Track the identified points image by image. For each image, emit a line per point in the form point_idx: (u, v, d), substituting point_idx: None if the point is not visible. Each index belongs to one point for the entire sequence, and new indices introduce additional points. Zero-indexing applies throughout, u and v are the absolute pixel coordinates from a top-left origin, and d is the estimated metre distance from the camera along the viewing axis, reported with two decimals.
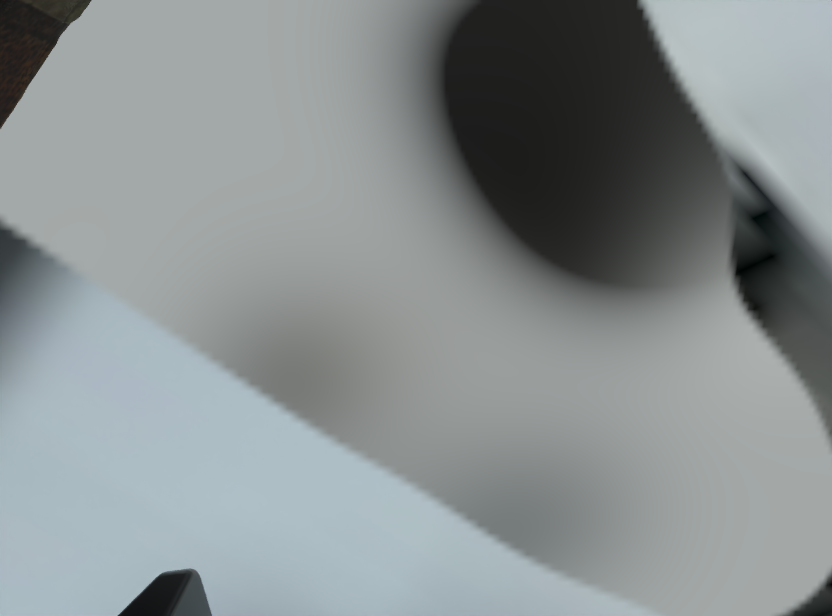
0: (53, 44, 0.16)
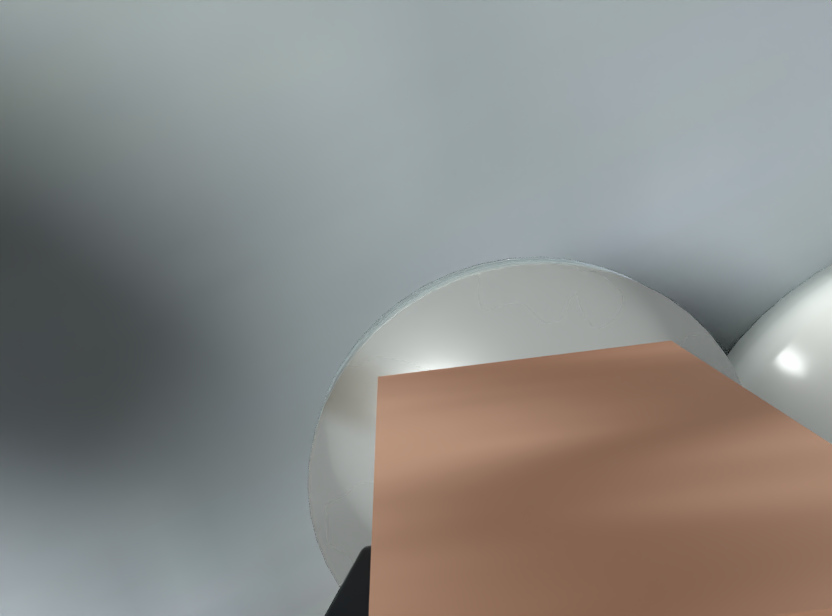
0: None
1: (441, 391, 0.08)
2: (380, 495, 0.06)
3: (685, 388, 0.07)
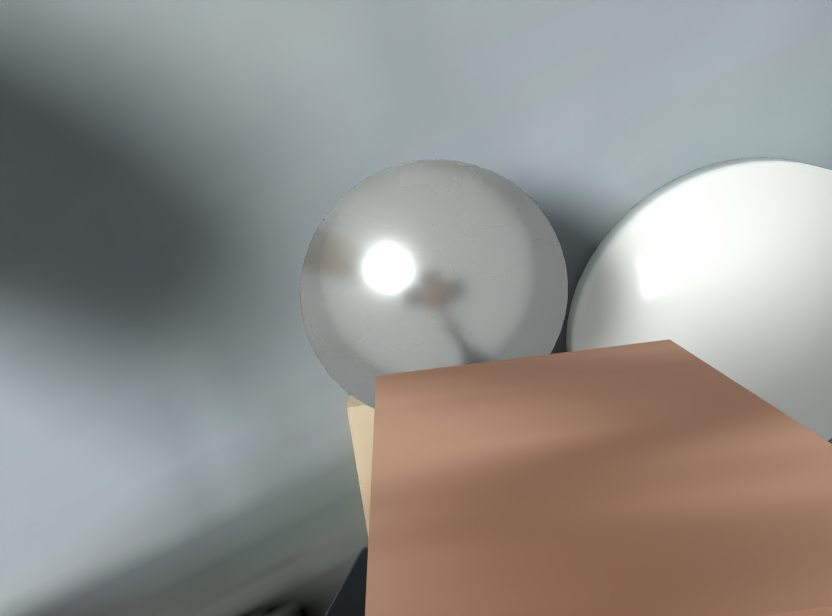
0: None
1: (439, 390, 0.08)
2: (378, 494, 0.05)
3: (684, 387, 0.07)
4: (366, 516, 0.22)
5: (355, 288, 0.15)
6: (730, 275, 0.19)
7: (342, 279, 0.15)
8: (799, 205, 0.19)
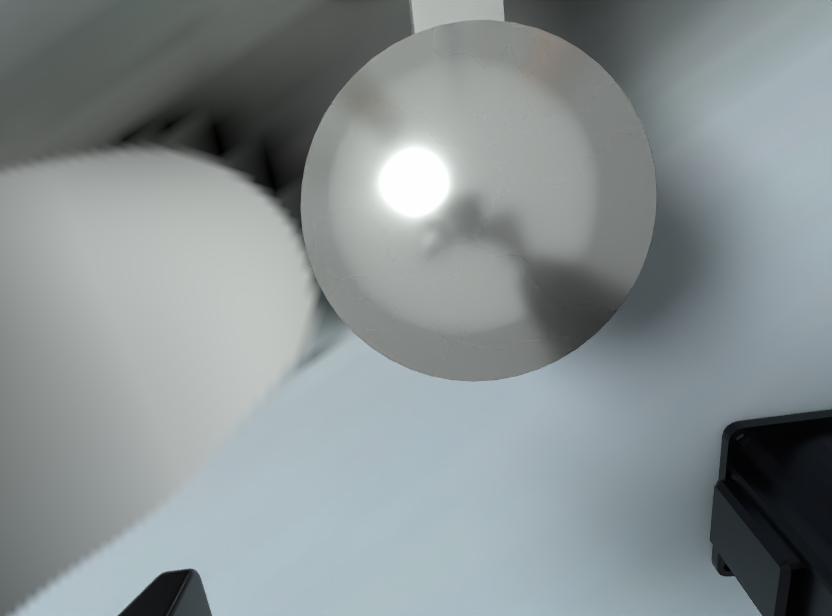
0: None
1: None
2: None
3: None
4: None
5: None
6: None
7: None
8: None
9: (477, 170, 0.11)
